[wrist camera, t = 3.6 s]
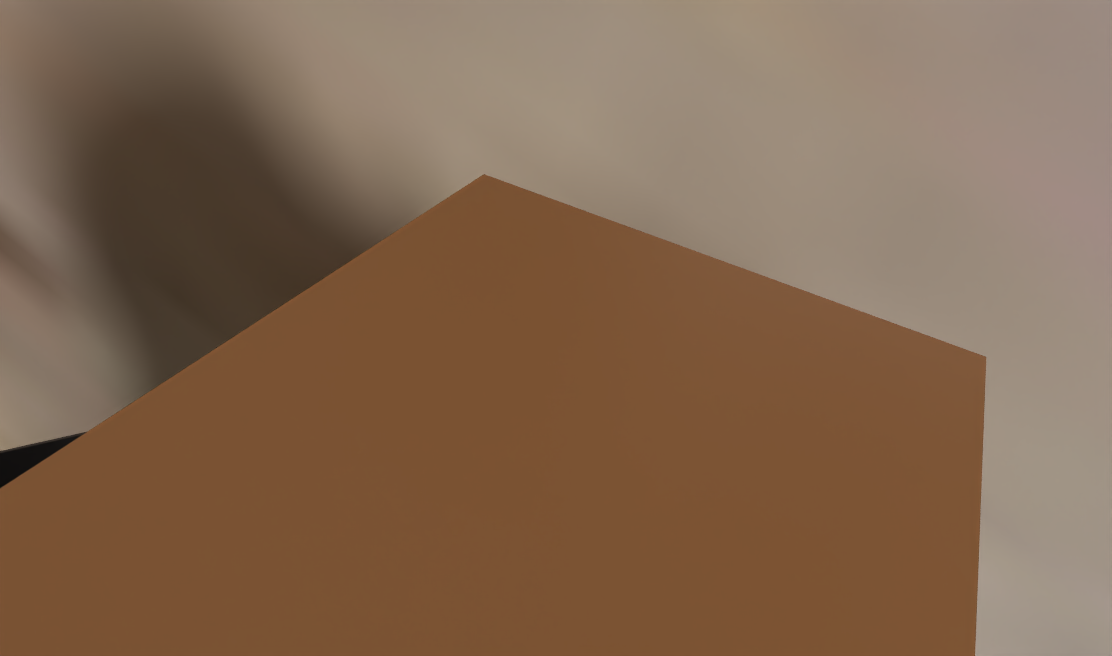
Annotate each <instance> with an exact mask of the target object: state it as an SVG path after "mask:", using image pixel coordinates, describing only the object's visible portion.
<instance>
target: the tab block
mask: <svg viewBox="0 0 1112 656" xmlns="http://www.w3.org/2000/svg"><path fill="white" fill-rule="evenodd" d="M985 375H986V357H985V356H982V355H979V354H977V353H974V352H971V351H968V350H966V349H963V348H960V347H957V346H955V345H952V344H949V343H946V342H944V341H941V340H938V339H935V338H933V337H930V336H927V335H924V334H922V333H919V332H916V331H913V330H911V329H908V328H905V327H902V326H900V325H897V324H894V323H891V322H889V321H886V320H883V319H880V318H878V317H875V316H872V315H869V314H867V313H864V312H861V311H858V310H856V309H853V308H850V307H847V306H845V305H842V304H839V303H836V302H834V301H831V300H828V299H825V298H823V297H820V296H817V295H814V294H812V293H809V292H806V291H803V290H801V289H798V288H795V287H792V286H790V285H787V284H784V283H781V282H779V281H776V280H773V279H770V278H768V277H765V276H762V275H759V274H757V273H754V272H751V271H748V270H746V269H743V268H740V267H737V266H735V265H732V264H729V263H726V262H724V261H721V260H718V259H715V258H713V257H710V256H707V255H704V254H702V253H699V252H696V251H693V250H691V249H688V248H685V247H682V246H680V245H677V244H674V243H671V242H669V241H666V240H663V239H660V238H658V237H655V236H652V235H649V234H647V233H644V232H641V231H638V230H636V229H633V228H630V227H627V226H625V225H622V224H619V223H616V222H614V221H611V220H608V219H605V218H603V217H600V216H597V215H594V214H592V213H589V212H586V211H583V210H581V209H578V208H575V207H572V206H570V205H567V204H564V203H561V202H559V201H556V200H553V199H550V198H548V197H545V196H542V195H539V194H537V193H534V192H531V191H528V190H526V189H523V188H520V187H517V186H515V185H512V184H509V183H506V182H504V181H501V180H498V179H496V178H493V177H490V176H487V175H485V174H484V175H482V176H480V177H479V178H477V179H476V180H474V181H473V182H471V183H470V184H468V185H467V186H465V187H464V188H462V189H460V190H459V191H457V192H456V193H454V194H453V195H451V196H450V197H448V198H447V199H445V200H444V201H442V202H440V203H439V204H437V205H436V206H434V207H433V208H431V209H430V210H428V211H427V212H425V213H424V214H422V215H420V216H419V217H417V218H416V219H414V220H413V221H411V222H410V223H408V224H407V225H405V226H404V227H402V228H400V229H399V230H397V231H396V232H394V233H393V234H391V235H390V236H388V237H387V238H385V239H383V240H382V241H380V242H379V243H377V244H376V245H374V246H373V247H371V248H370V249H368V250H367V251H365V252H363V253H362V254H360V255H359V256H357V257H356V258H354V259H353V260H351V261H350V262H348V263H347V264H345V265H343V266H342V267H340V268H339V269H337V270H336V271H334V272H333V273H331V274H330V275H328V276H327V277H325V278H323V279H322V280H320V281H319V282H317V283H316V284H314V285H313V286H311V287H310V288H308V289H307V290H305V291H303V292H302V293H300V294H299V295H297V296H296V297H294V298H293V299H291V300H290V301H288V302H287V303H285V304H283V305H282V306H280V307H279V308H277V309H276V310H274V311H273V312H271V313H270V314H268V315H267V316H265V317H263V318H262V319H260V320H259V321H257V322H256V323H254V324H253V325H251V326H250V327H248V328H246V329H245V330H243V331H242V332H240V333H239V334H237V335H236V336H234V337H233V338H231V339H230V340H228V341H226V342H225V343H223V344H222V345H220V346H219V347H217V348H216V349H214V350H213V351H211V352H210V353H208V354H206V355H205V356H203V357H202V358H200V359H199V360H197V361H196V362H194V363H193V364H191V365H190V366H188V367H186V368H185V369H183V370H182V371H180V372H179V373H177V374H176V375H174V376H173V377H171V378H170V379H168V380H166V381H165V382H163V383H162V384H160V385H159V386H157V387H156V388H154V389H153V390H151V391H150V392H148V393H146V394H145V395H143V396H142V397H140V398H139V399H137V400H136V401H134V402H133V403H131V404H130V405H128V406H126V407H125V408H123V409H122V410H120V411H119V412H117V413H116V414H114V415H113V416H111V417H109V418H108V419H106V420H105V421H103V422H102V423H100V424H99V425H97V426H96V427H94V428H93V429H91V430H89V431H88V432H86V433H85V434H83V435H82V436H80V437H79V438H77V439H76V440H74V441H73V442H71V443H69V444H68V445H66V446H65V447H63V448H62V449H60V450H59V451H57V452H56V453H54V454H53V455H51V456H49V457H48V458H46V459H45V460H43V461H42V462H40V463H39V464H37V465H36V466H34V467H33V468H31V469H29V470H28V471H26V472H25V473H23V474H22V475H20V476H19V477H17V478H16V479H14V480H13V481H11V482H9V483H8V484H6V485H5V486H3V487H2V488H0V656H975V640H976V614H977V588H978V561H979V535H980V508H981V481H982V455H983V429H984V402H985Z"/></svg>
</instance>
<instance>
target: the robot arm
mask: <svg viewBox="0 0 1112 656" xmlns="http://www.w3.org/2000/svg"><path fill="white" fill-rule="evenodd" d="M85 433H86V432H84V433H79V434H75V435H70V436H66V437H61V438H57V439H52V440H48V441H43V442H39V443H35V444H30V445H26V446H21V447H17V448H12V449H8V450H3V451H0V488H2V487H3V486H5V485H6V484H8V483H9V482H11V481H13V480H14V479H16V478H17V477H19V476H20V475H22V474H23V473H25V472H26V471H28V470H29V469H31V468H33V467H34V466H36V465H37V464H39V463H40V462H42V461H43V460H45V459H46V458H48V457H49V456H51V455H53V454H54V453H56V452H57V451H59V450H60V449H62V448H63V447H65V446H66V445H68V444H69V443H71V442H73V441H74V440H76V439H77V438H79V437H80V436H82V435H83V434H85Z"/></svg>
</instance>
